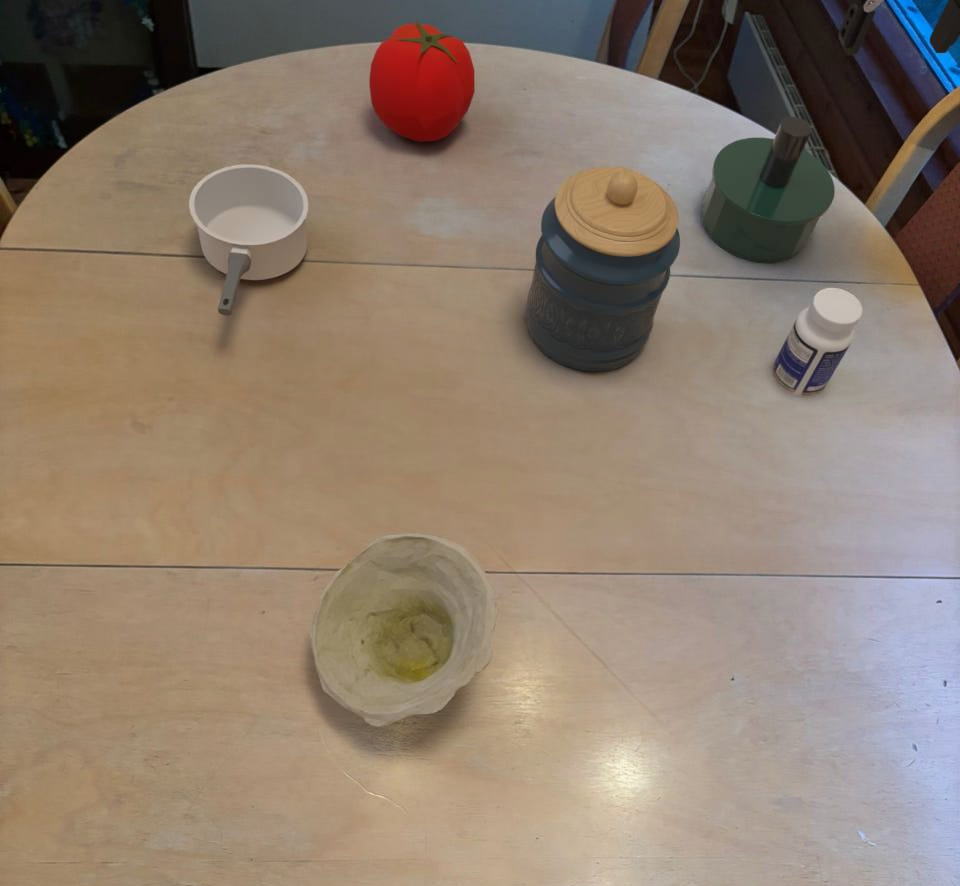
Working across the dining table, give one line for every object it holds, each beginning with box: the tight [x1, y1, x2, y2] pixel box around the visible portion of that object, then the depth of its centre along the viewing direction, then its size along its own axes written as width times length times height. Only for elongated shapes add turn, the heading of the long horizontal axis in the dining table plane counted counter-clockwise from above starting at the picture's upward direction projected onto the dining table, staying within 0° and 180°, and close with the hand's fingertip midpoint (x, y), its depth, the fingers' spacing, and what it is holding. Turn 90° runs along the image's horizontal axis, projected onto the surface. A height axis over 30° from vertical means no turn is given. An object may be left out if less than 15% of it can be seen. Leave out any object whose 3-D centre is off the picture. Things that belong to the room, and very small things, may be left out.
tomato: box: [368, 18, 476, 142], centre depth 105 cm, size 12×12×10 cm
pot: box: [701, 176, 820, 264], centre depth 105 cm, size 12×12×5 cm
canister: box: [525, 166, 681, 372], centre depth 90 cm, size 13×13×18 cm
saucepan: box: [188, 163, 309, 317], centre depth 93 cm, size 12×20×6 cm, turn 177°
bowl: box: [308, 532, 498, 727], centre depth 74 cm, size 15×14×10 cm
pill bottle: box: [771, 287, 863, 398], centre depth 93 cm, size 6×6×10 cm
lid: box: [711, 116, 836, 225], centre depth 100 cm, size 13×13×7 cm
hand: (892, 48), depth 82 cm, fingers open, 8 cm apart
